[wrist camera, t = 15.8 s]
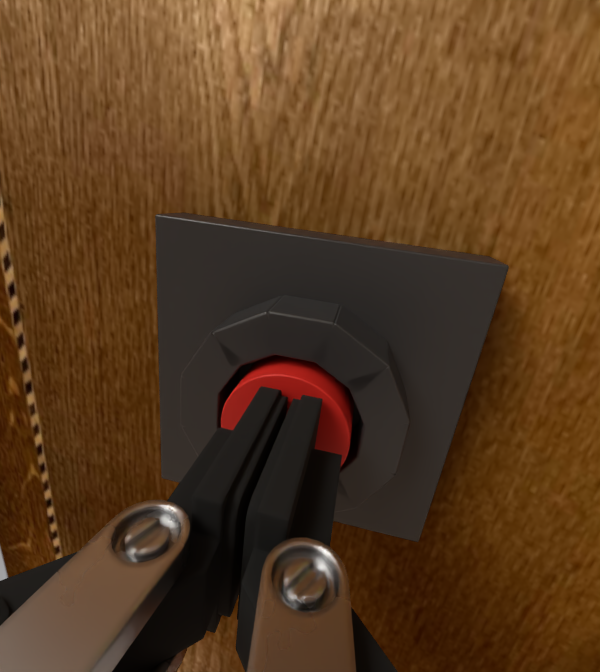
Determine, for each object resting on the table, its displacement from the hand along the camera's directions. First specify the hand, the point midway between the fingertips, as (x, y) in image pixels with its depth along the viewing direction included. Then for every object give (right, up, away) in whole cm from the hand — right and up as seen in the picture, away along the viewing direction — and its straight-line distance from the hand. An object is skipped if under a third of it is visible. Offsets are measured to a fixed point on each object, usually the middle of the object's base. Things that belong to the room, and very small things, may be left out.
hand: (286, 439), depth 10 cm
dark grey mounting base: (+1, +1, +4) cm, 4 cm away
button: (0, +1, +2) cm, 2 cm away
